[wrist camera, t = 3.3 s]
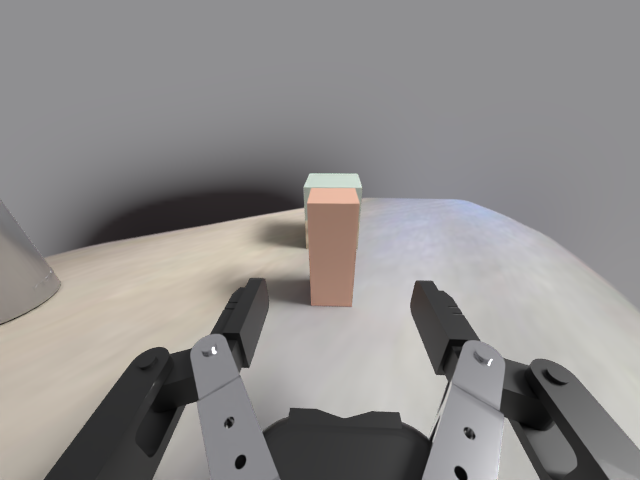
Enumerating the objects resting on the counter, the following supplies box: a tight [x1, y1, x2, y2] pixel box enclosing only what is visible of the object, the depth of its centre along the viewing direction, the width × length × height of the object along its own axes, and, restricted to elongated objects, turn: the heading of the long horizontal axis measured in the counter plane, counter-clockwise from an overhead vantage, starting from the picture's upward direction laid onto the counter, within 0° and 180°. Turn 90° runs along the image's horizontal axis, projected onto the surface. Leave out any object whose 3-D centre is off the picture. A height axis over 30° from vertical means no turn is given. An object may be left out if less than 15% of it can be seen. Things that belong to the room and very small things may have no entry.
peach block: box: [307, 188, 360, 307], centre depth 24 cm, size 4×4×12 cm
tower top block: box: [304, 174, 362, 222], centre depth 36 cm, size 8×8×5 cm
